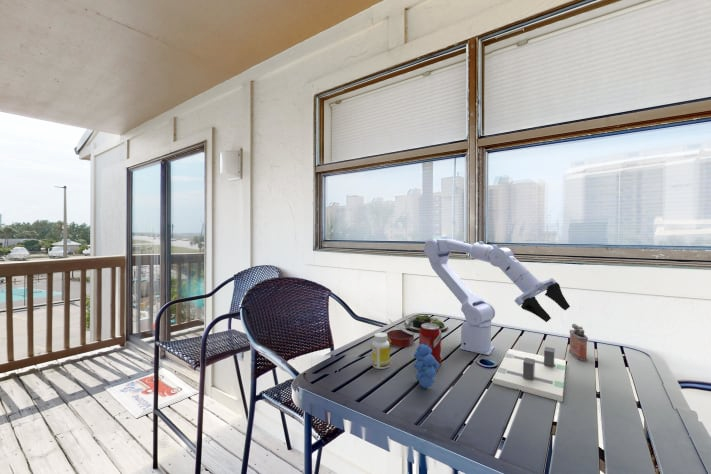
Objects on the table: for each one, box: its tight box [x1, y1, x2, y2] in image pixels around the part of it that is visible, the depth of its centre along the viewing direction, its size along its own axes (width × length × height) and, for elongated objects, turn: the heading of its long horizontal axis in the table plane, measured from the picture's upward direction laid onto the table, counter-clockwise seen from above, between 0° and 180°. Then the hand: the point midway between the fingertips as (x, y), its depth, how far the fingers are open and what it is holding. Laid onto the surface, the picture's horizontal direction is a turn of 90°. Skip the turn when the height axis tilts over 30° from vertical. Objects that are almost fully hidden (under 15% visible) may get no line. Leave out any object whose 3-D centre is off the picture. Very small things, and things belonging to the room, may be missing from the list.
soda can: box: [418, 322, 442, 365], centre depth 99 cm, size 7×7×12 cm
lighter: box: [568, 323, 589, 363], centre depth 104 cm, size 8×3×10 cm, turn 168°
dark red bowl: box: [386, 318, 415, 348], centre depth 118 cm, size 11×10×10 cm
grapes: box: [413, 344, 441, 389], centre depth 85 cm, size 12×7×12 cm, turn 8°
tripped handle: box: [523, 357, 535, 380], centre depth 87 cm, size 2×4×4 cm, turn 145°
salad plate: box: [405, 313, 449, 333], centre depth 136 cm, size 19×18×5 cm
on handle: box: [543, 346, 556, 367], centre depth 95 cm, size 2×4×4 cm, turn 145°
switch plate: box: [492, 348, 567, 403], centre depth 92 cm, size 16×24×2 cm, turn 145°
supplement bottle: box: [371, 331, 391, 370], centre depth 98 cm, size 5×5×10 cm
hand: (558, 314), depth 90 cm, fingers open, 7 cm apart
